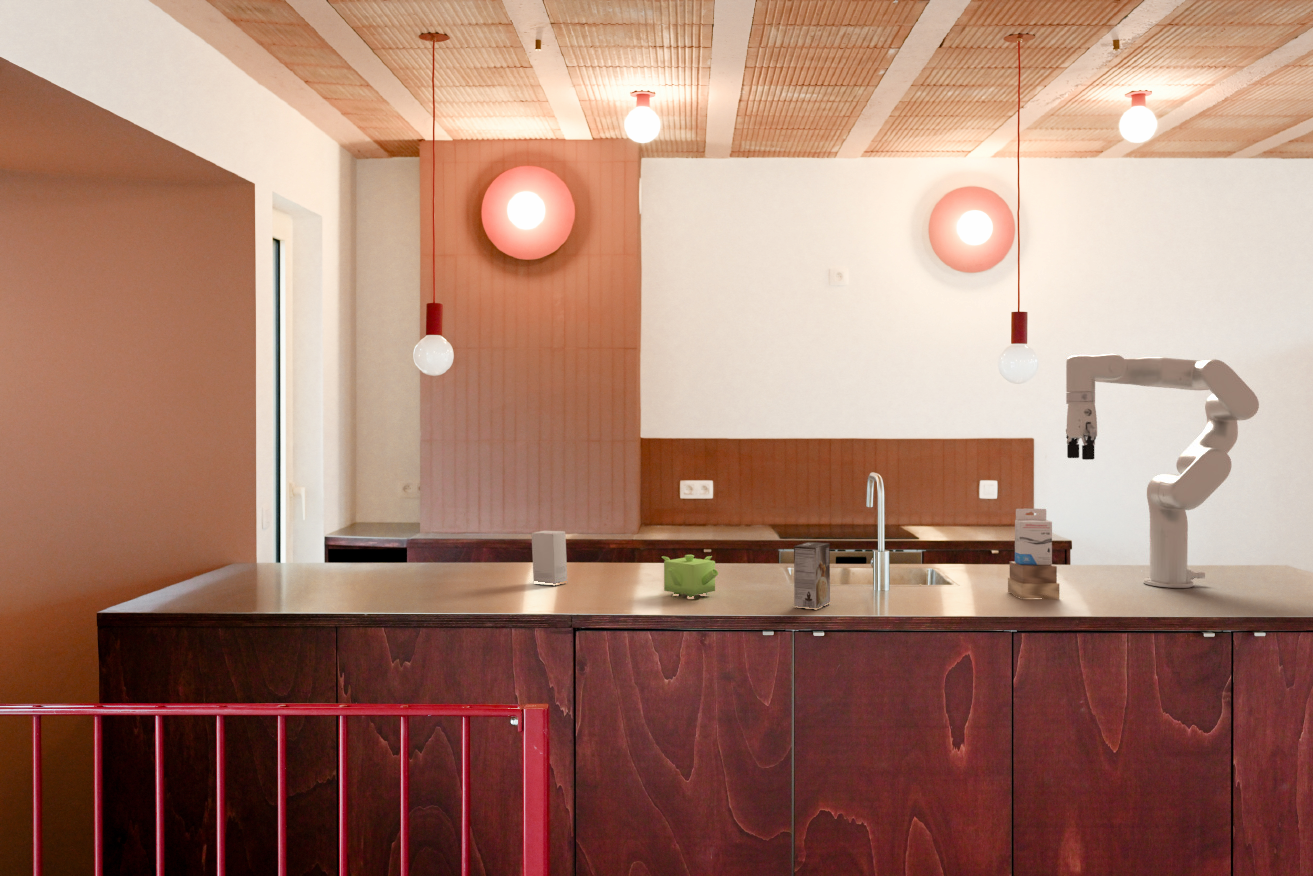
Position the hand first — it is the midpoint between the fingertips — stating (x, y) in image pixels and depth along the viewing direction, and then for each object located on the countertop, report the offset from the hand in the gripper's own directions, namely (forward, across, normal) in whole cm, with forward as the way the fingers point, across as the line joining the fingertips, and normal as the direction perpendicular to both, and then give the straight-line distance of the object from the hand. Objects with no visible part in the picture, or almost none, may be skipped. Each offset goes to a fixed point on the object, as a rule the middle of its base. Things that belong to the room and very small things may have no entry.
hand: (1080, 458), depth 269 cm
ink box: (+28, -15, +19) cm, 37 cm away
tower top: (+32, -15, +20) cm, 41 cm away
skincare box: (+36, +5, +153) cm, 157 cm away
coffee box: (+36, -29, +81) cm, 93 cm away
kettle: (+36, -13, +112) cm, 118 cm away
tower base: (+37, -15, +19) cm, 44 cm away
